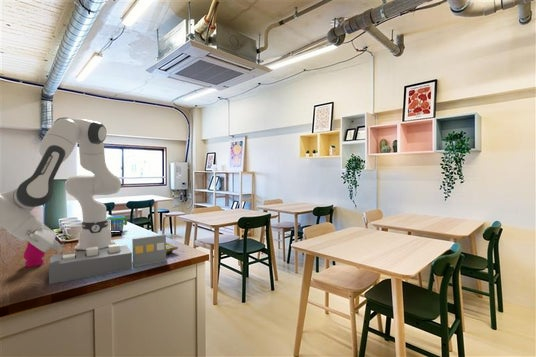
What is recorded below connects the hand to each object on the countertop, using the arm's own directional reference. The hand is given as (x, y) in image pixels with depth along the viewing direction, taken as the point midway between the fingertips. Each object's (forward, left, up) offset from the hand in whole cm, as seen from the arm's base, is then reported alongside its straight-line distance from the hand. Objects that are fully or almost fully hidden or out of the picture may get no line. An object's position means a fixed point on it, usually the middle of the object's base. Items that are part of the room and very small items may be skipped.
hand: (62, 250), depth 112 cm
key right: (0, +18, -5) cm, 19 cm away
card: (+3, +32, -10) cm, 34 cm away
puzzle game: (-12, +39, -11) cm, 42 cm away
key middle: (0, +10, -5) cm, 12 cm away
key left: (0, +2, -7) cm, 7 cm away
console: (0, +10, -10) cm, 15 cm away
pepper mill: (-23, -11, -11) cm, 28 cm away
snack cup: (-74, +27, -11) cm, 79 cm away
